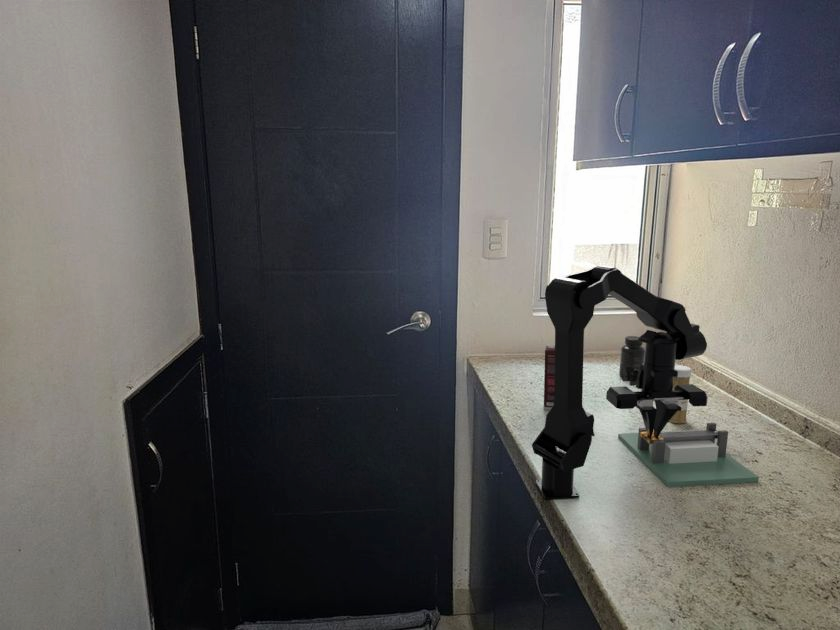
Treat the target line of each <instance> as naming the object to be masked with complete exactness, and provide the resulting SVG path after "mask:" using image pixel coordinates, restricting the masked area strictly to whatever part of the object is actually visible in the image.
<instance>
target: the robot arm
mask: <svg viewBox="0 0 840 630" xmlns="http://www.w3.org/2000/svg"><path fill="white" fill-rule="evenodd" d="M544 293H545V294H544V299H545V306H546V312H547V315H548V317H549V319H550V321H551V324H552V325H553V327H554V346H555V385H554V405H553V406H552V408H551V409H550V410H548V412H547V414H546V416H545V423H544V427H543V428H542V430H541V431H540V432H539V434H538V436H537V437H536V438H535V439H534V441H532V443H531V447H532V451H533V454H535V455H538V456H539V457H541V458H542V459H541V460H542V463H541V479H536V480H535V484H536V486H537V488H538V489H539V491H540V493H541V495H542V496H543V498H544V499H545V500H558V499H559V500H560V499H574V498H575V499H576V498H580V493H579V491H578V490H577V489H576V488H575V486H574V475H575V474H574V472H575V469H578V468H582V467H584V465H585V463H586V459H587V457H588V453H589V452H590V447H591V445H592V441H593V437H595V431H594V425H595V415H594V414H593V413H590V412H588V411H586V410H585V408H584V407H583V388H584V387H583V386H584V383H583V382H584V378H583V377H584V346H585V341H584V340H585V328H586V327H587V326H588V324H589V323H590V321H591V319H592V318H593V317H594V312H595V306H596V305H598V304H600V303H602V302H604V301H605V300H607V298H608V296H611V297H612V298H614V299H615V300H617V301H619V302H620V303H622V304H623V305H625V306H627V307H629V308H630V309H631V310H633V311H634V312H635V313H636V317H637V318H638V320H639V321H640V323H643V325H644V326H646V327H649V328H651V329H652V328H653V329H655V330H659V331H658V332H657V331H654V330H651V329H650V330H649V329H647V330H646V331H645V332H644V333H643V334H641V335H640V336H638V337H639V339H638V340H639V341H640V342H642V343H643V344H644V343H645V347H644V349H645V357H644V364H641V365H640V370H634V367H633V366H624V367H622V372H621V376H620V378H621V381H622V382H629V386H633V387H634V386H635V388H637V389H638V390H639V391H633V390H632V389H631V388H629V387H628V386H626V385H625V386H610V387H608V389H607V391H606V397H605V399H606V400H607V401H608V402H609V403H610V404H612V405H613V406H614V407H615V408H616V409H618V410H629V409H630V410H632V409H634V408H637V409H638V410H639V413H640V415H641V418H642V420H643V421H642V422H643V424H644V428H646V432H647V435H648V436H649V437H651V436H652V434H653V431H654V435H655V436H659V434H660V433H661V432H663V431H664V429H665V427H666V426H667V424H668V423H669V422H670V421H669V420H670V419H671V418H672V417H673V416H674V414H675V413H676V412H677V411H681V409H682V408H681V407H680V406H678V401H679V400H688V403H689V404H690V405H691V406H692V407H707V405H708V399H709V398H708V395H707V392H706V391H704V390H703V389H702V388H700V387H698V386H697V385H695V384H694V383H692V384H690V383H689V384H685V385H676V386H675V388H674V390H673V380H674V377H677V376H678V371H676V370H674V369H675V365H676V360H677V361H679V360H680V361H681V360H685V359H689V358H691V359H692V358H694V357H699V356H702V355H704V353H705V352H706V350H707V347H708V342H707V339H706V337H705V335H704V333H702V332H701V331H700V325H699V324H695V323H691V321H690V319H689V316H688V315H687V312H686V307H685V306H684V305H683V304H682V303H679V302H676V301H674V300H671V299H666V298H664V297H660V296H656V295H655V294H653V293H652V292H650V291H649V290H648V289H646V288H644V287H643V286H642V285H640V284H639V283H637V282H635V280H632V279H631V278H629V277H628V276H627V275H625V274H623V273H622V271H621V270H620V269H618V268H617V267H612V266H606V265H596V266H593V267H591V268H589V269H586V270H583V271H580V272H575V273H572V274H571V273H570V274H568V275H565V276H558V277H555V278H554V279H552V280H551V281H550V283H549V284H547V285H546V287H545V292H544ZM640 390H641V391H640ZM654 404H655V407H654Z"/></svg>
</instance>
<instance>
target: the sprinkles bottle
mask: <svg viewBox="0 0 840 630" xmlns="http://www.w3.org/2000/svg"><path fill="white" fill-rule="evenodd" d="M674 370H676V371H678V376H677V377H674V380H673V390H674V388H675V386H676V385H685V384H690V378H691V376H692V368H691V367H689V366H686V365H682V364H681V365H680V364H675V369H674ZM688 403H689V400H679V401H678V406H680V407H681V408H682V409H681V411H677V412H676V413H675V414H674V416H673V417H672V418H671V419H670V420H669V421H668V422H670V423H673V424H684V423H686V422H687V412H688V405H689V404H688Z"/></svg>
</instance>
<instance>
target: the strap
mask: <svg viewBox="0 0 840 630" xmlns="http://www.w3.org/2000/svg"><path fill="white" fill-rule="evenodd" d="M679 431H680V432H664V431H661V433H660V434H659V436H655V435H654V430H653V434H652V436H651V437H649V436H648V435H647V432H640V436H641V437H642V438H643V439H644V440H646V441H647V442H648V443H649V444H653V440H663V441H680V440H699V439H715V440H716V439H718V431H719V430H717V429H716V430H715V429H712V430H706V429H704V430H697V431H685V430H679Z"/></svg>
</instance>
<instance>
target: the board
mask: <svg viewBox="0 0 840 630" xmlns="http://www.w3.org/2000/svg"><path fill="white" fill-rule="evenodd" d="M712 429H715V430H717V423H716V422H707V423H706V428H705V430H712ZM680 431H681V430H666V431H664V430H663V432H680ZM684 431H698V430H697V429H691V430H689V429H688V430H684ZM717 431H718V439H717V442H716V443H715V441H716V439H699V440H680V441H663V440H653V444H649V443H648V442H647V441H646V440H644V439H643V438H642V437H641V436H640V432H646V428H645V427H638V432H628V433H627V432H626V433H618V434H617V438H618V439H619V441H621V442H622V443H623V444H624V446H626V447H627V449H629V450H630V451H631V453H633V455H635V456H636V457H637V458H638V460H640V461H641V462H642V463H643V464H644V465H645V466H646V467H647V468H648V469H649V471H650V472H652V473H653V474H654V475H655V476H656V477H657V478H658V480H660V481H661V482H662V483H663V484H664V485H665V486H666V488H674V487H677V488H678V487H690V486H691V487H692V486H693V487H694V486H695V487H696V486H709V485H726V484H730V485H731V484H741V483H742V484H745V483H759V478H760V477H759V476H758V475H757V474H755V473H754V472H752V471H751V470H750V469H748V468H747V467H746V466H744V465H743V464H742V463H741V462H739V460H736V459H735V458H734V457H732V456H731V455H729V454H728V453H727V446H728V438H729V437H728V435H729V431H728V430H725V429H724V430H723V429H722V430H717Z"/></svg>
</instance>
